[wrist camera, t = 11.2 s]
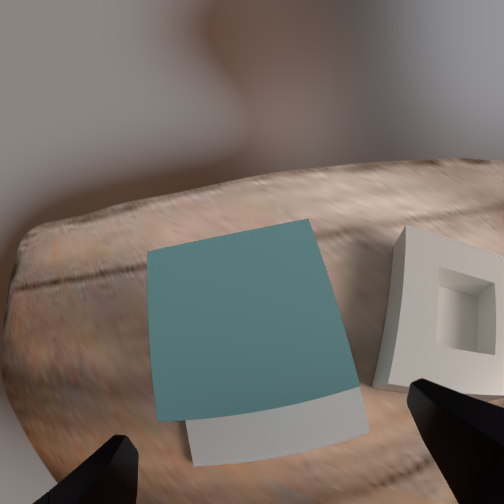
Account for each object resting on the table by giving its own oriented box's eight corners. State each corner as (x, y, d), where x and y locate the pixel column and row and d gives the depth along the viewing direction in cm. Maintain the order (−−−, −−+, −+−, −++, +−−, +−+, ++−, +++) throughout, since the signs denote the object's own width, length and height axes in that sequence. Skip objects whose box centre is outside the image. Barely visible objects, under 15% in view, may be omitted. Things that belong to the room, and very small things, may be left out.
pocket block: (490, 400, 13) (514, 395, 10) (371, 387, 15) (387, 383, 13) (494, 276, 18) (512, 259, 15) (393, 246, 21) (406, 224, 18)
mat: (367, 431, 14) (370, 432, 13) (196, 464, 14) (193, 466, 13) (327, 281, 20) (328, 277, 19) (175, 311, 19) (172, 308, 19)
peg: (305, 398, 15) (360, 386, 5) (237, 411, 15) (157, 421, 5) (291, 335, 17) (308, 218, 7) (226, 348, 17) (147, 251, 7)
